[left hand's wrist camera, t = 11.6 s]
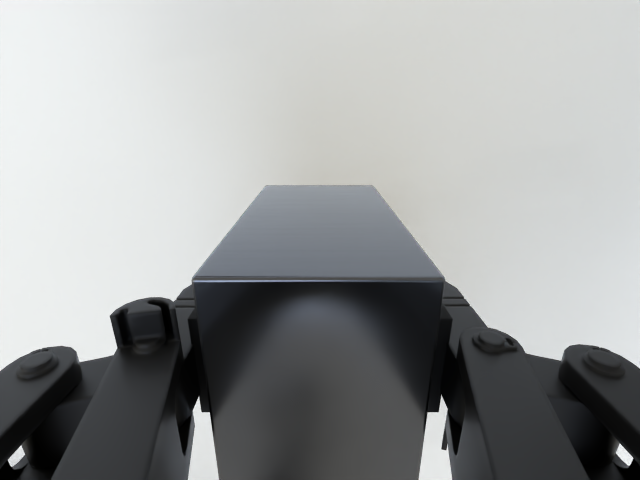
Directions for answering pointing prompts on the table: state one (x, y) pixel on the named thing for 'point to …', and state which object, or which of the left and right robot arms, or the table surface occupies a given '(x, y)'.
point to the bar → (318, 338)
